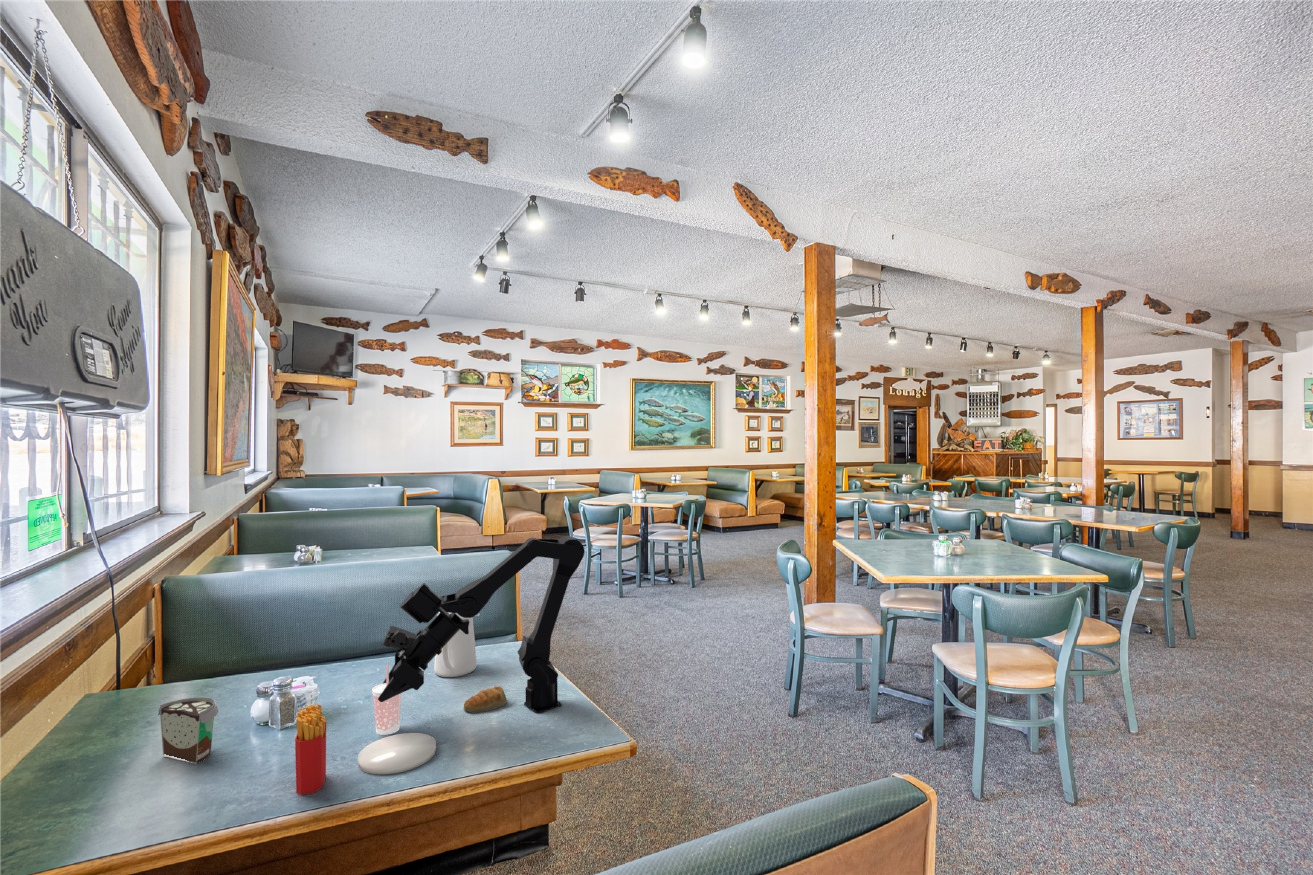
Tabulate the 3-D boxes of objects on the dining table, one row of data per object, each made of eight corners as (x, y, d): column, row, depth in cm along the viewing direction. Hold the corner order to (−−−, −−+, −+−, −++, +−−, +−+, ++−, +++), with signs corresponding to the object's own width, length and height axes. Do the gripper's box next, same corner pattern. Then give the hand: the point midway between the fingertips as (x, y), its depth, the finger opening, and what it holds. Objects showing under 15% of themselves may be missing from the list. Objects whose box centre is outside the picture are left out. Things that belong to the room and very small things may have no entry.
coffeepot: (484, 654, 181) (483, 589, 181) (467, 687, 156) (467, 611, 156) (445, 656, 179) (445, 590, 180) (422, 689, 154) (422, 613, 155)
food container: (233, 750, 124) (233, 700, 124) (202, 765, 118) (202, 712, 118) (190, 741, 128) (190, 692, 128) (157, 755, 122) (157, 704, 123)
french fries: (320, 794, 108) (319, 718, 108) (292, 799, 106) (291, 722, 107) (328, 768, 116) (328, 698, 117) (303, 772, 115) (302, 702, 115)
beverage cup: (384, 722, 136) (383, 658, 136) (409, 724, 135) (408, 659, 135) (365, 735, 130) (365, 667, 130) (391, 737, 129) (391, 669, 129)
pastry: (471, 717, 138) (471, 700, 138) (458, 709, 143) (457, 692, 143) (509, 705, 145) (509, 689, 145) (495, 697, 150) (495, 681, 150)
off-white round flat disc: (421, 732, 131) (421, 726, 131) (447, 757, 120) (447, 750, 120) (349, 754, 122) (349, 747, 122) (370, 783, 111) (370, 776, 111)
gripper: (408, 603, 143) (355, 657, 139) (405, 624, 125) (345, 687, 121) (444, 633, 145) (393, 688, 141) (447, 658, 128) (389, 721, 124)
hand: (380, 695), depth 132 cm, fingers closed on beverage cup, 6 cm apart
